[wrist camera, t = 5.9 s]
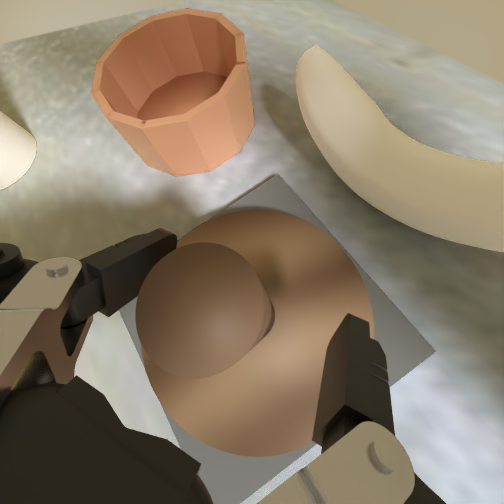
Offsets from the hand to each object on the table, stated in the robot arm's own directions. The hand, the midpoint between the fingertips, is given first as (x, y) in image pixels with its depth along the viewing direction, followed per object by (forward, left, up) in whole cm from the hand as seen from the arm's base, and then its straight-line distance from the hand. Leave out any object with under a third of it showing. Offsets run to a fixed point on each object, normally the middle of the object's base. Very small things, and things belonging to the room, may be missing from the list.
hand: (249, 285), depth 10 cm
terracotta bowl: (+16, -4, -6) cm, 18 cm away
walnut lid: (-1, +1, -5) cm, 5 cm away
